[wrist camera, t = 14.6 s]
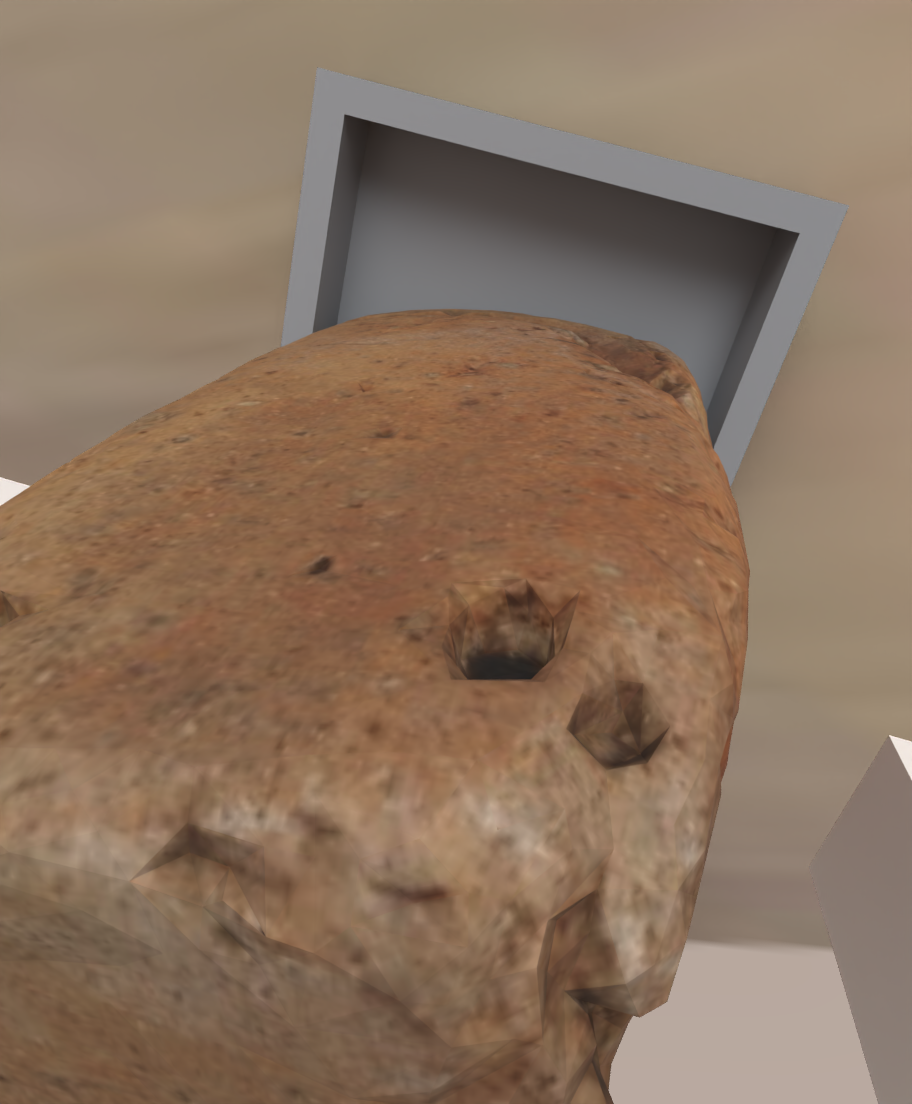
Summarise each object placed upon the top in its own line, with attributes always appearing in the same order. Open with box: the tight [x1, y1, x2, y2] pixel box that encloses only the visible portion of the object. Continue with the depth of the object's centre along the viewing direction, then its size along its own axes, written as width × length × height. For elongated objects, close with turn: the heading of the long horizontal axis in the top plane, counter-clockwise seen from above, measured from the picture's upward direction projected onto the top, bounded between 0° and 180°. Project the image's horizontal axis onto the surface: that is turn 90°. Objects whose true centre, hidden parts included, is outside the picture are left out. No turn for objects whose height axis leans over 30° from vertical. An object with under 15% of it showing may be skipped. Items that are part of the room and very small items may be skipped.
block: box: [0, 309, 750, 1104], centre depth 15 cm, size 11×8×20 cm
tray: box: [281, 67, 849, 487], centre depth 23 cm, size 13×16×3 cm
